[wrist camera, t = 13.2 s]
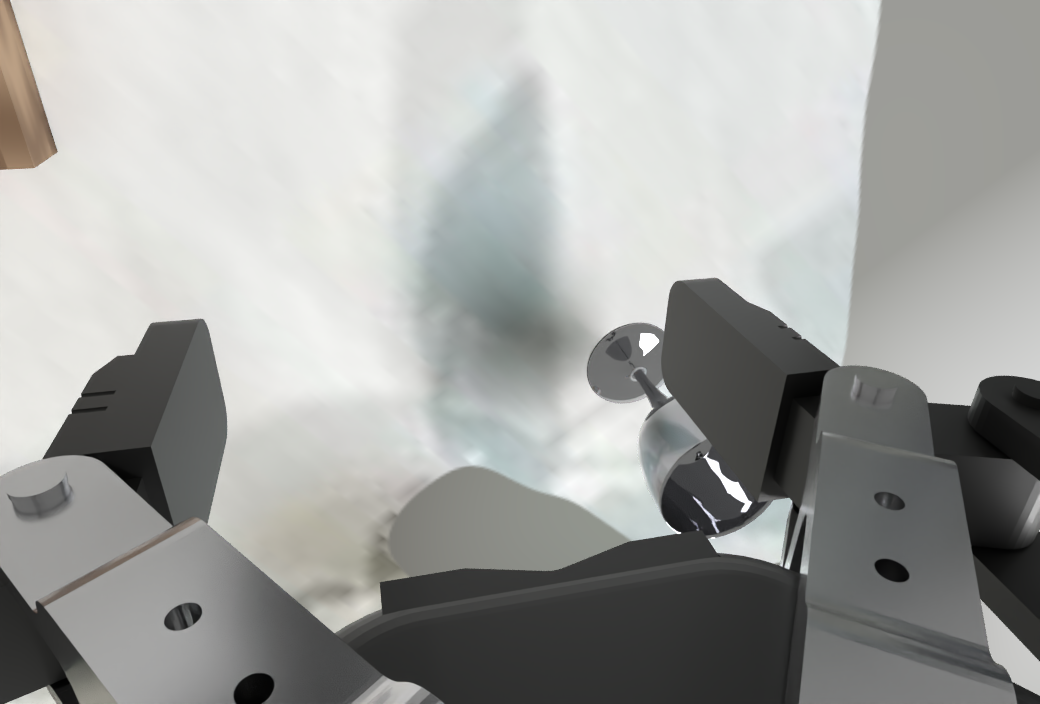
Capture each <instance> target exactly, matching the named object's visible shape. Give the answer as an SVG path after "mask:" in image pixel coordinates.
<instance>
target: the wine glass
mask: <svg viewBox="0 0 1040 704" xmlns="http://www.w3.org/2000/svg"><path fill="white" fill-rule="evenodd" d="M663 339H664V331H663V330H662V329H660V328H658V327H657V326H654V325H651V324H645V323H634V324H629V325H625V326H623V327H620V328H618V329H616V330H614V331H612V332H611V333H609V334H608V335H607V336H605V337H604V338H603V339H602V340H601V341H600V342H599V344H598V345H597V346H596V348H595V349H594V351H593V353H592V354H591V357H590V360H589V363H588V369H587V371H588V380H589V383H590V385H591V387H592V389H593V390H594V392H595V393H596V394H597V395H598V396H600V397H601V398H603V399H605V400H607V401H610V402H613V403H631V402H636V401H638V400H641V399H643V398H645V397H647V398H648V400H649V402H650V405H651V412H650V413H649V414H648V415H647V417H646V418H645V420H644V422H643V424H642V427H641V429H640V432H639V435H638V440H637V455H638V460H639V464H640V468H641V473H642V476H643V479H644V481H645V484H646V487H647V489H648V491H649V493H650V495H651V497H652V499H653V501H654V503H655V505H656V507H657V509H658V510H659V512H660V514H661V515H662V517H663V519H664V520H665V521H666V523H667V524H668V525H669V526H670V528H671V529H673V530H674V531H675V532H677V533H678V534H680V533H686V532H692V531H698V530H702V531H703V533H704V534H705V536H706V537H707V539H709V538H716V537H720V536H724V535H727V534H730V533H732V532H735V531H737V530H739V529H741V528H742V527H744V526H746V525H747V524H749V523H750V522H752V521H753V520H755V519H756V518H757V517H758V516H759V515H761V514H762V513H763V512H764V511H765V510H766V508H767V507H768V506H769V505H770V504H771V502H772V501H773V500H770V501H764V502H757V501H756V500H755V498H754V497H753V496H752V495H751V493H750V492H749V491H748V490H747V488H746V487H745V486H744V485H743V483H742V482H741V481H740V480H739V478H738V477H737V476H736V475H735V473H734V472H733V471H732V470H731V468H730V467H729V466H728V465H727V463H726V462H725V461H724V460H723V458H722V457H721V456H720V455H719V453H718V452H717V451H716V449H715V448H714V447H713V446H712V444H711V443H710V442H709V441H708V439H707V438H706V437H705V436H704V434H703V433H702V432H701V431H700V429H699V428H698V427H697V426H696V424H695V423H694V422H693V421H692V419H691V418H690V417H689V416H688V414H687V413H686V412H685V411H684V409H683V408H682V407H681V406H680V404H679V403H678V402H677V401H676V399H675V398H674V397H673V396H672V397H668V396H666V395H664V394H663V393H662V392H661V391H660V390H659V389H658V388H659V387H660V386H661V385H662V384H663V383H664V379H663V375H662V369H661V355H662V347H663Z"/></svg>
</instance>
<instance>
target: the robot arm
mask: <svg viewBox="0 0 1040 704" xmlns="http://www.w3.org/2000/svg"><path fill="white" fill-rule="evenodd" d="M661 369H662V375H663V379H664V382H665V385H666V387H667V389H668V390H669V392H670V393H671V394H672V396H673V397H674V398H675V399H676V401H677V402H678V403H679V404H680V406H681V407H682V408H683V409H684V411H685V412H686V413H687V414H688V416H689V417H690V418H691V419H692V421H693V422H694V423H695V424H696V426H697V427H698V428H699V429H700V431H701V432H702V433H703V434H704V436H705V437H706V438H707V439H708V441H709V442H710V443H711V444H712V446H713V447H714V448H715V449H716V451H717V452H718V453H719V455H720V456H721V457H722V458H723V460H724V461H725V462H726V463H727V465H728V466H729V467H730V468H731V470H732V471H733V472H734V473H735V475H736V476H737V477H738V478H739V480H740V481H741V482H742V483H743V485H744V486H745V487H746V488H747V490H748V491H749V492H750V493H751V495H752V496H753V497H754V498H755V500H756V501H757V502H764V501H770V500H777V499H783V498H790V499H791V500H792V503H791V507H790V511H789V515H788V519H787V525H786V531H785V537H784V544H783V550H782V556H781V563H780V566H779V565H776V564H772V563H769V562H766V561H763V560H759V559H754V558H750V557H745V556H739V555H732V554H724V553H716V551H715V549H714V548H713V546H712V545H711V543H710V542H709V540H708V539H707V537H706V536H705V534H704V533H703V531H702V530H698V531H692V532H686V533H680V534H673V535H667V536H661V537H655V538H649V539H643V540H637V541H631V542H627V543H624V544H622V545H619V546H617V547H614V548H612V549H610V550H607V551H604V552H602V553H600V554H597V555H595V556H593V557H590V558H587V559H585V560H582V561H580V562H577V563H575V564H572V565H570V566H567V567H565V568H562V569H559V570H554V571H525V570H494V569H459V570H452V571H446V572H440V573H434V574H428V575H422V576H416V577H409V578H403V579H397V580H391V581H385V582H380V590H381V603H382V609H381V610H378V611H376V612H374V613H371V614H369V615H367V616H365V617H363V618H361V619H359V620H357V621H355V622H353V623H351V624H349V625H347V626H345V627H344V628H342V629H341V630H339V631H338V632H336V633H335V634H334V633H333V632H332V631H331V630H330V629H328V628H327V627H326V626H325V625H324V624H323V623H322V622H320V621H319V620H318V619H317V618H316V617H315V616H313V615H312V614H311V613H310V612H309V611H308V610H306V609H305V608H304V607H303V606H302V605H301V604H299V603H298V602H297V601H296V600H295V599H294V598H292V597H291V596H290V595H289V594H288V593H287V592H285V591H284V590H283V589H282V588H281V587H280V586H279V585H277V584H276V583H275V582H274V581H273V580H272V579H270V578H269V577H268V576H267V575H266V574H265V573H263V572H262V571H261V570H260V569H259V568H258V567H256V566H255V565H254V564H253V563H252V562H251V561H249V560H248V559H247V558H246V557H245V556H244V555H243V554H241V553H240V552H239V551H238V550H237V549H236V548H234V547H233V546H232V545H231V544H230V543H229V542H227V541H226V540H225V539H224V538H223V537H222V536H220V535H219V534H218V533H217V532H216V531H215V530H213V529H212V528H211V527H210V526H209V525H208V524H207V523H208V519H209V514H210V510H211V505H212V501H213V497H214V492H215V488H216V483H217V479H218V475H219V470H220V466H221V461H222V457H223V453H224V448H225V444H226V439H227V415H226V407H225V402H224V397H223V392H222V388H221V383H220V379H219V374H218V370H217V365H216V361H215V356H214V352H213V347H212V343H211V338H210V334H209V330H208V327H207V325H206V323H205V321H204V320H203V319H193V320H181V321H168V322H156V323H151V324H150V326H149V328H148V329H147V331H146V333H145V335H144V337H143V339H142V341H141V343H140V345H139V347H138V349H137V351H136V353H135V355H125V356H117V357H116V358H114V359H113V360H112V361H110V362H109V363H108V364H106V365H105V366H103V367H102V368H101V369H99V370H98V371H97V372H95V373H94V374H93V375H92V376H91V378H90V380H89V381H88V383H87V385H86V387H85V388H84V390H83V392H82V393H81V396H82V397H81V398H78V400H77V402H76V403H75V405H74V407H73V408H72V414H69V415H68V417H67V418H66V420H65V422H64V424H63V425H62V427H61V429H60V430H59V432H58V434H57V435H56V437H55V439H54V440H53V442H52V444H51V445H50V447H49V449H48V450H47V452H46V454H45V455H44V457H43V459H42V460H39V461H35V462H32V463H29V464H26V465H24V466H21V467H18V468H16V469H14V470H12V471H10V472H7V473H6V474H4V475H2V476H0V704H5V703H7V702H10V701H12V700H14V699H17V698H19V697H22V696H24V695H26V694H29V693H31V692H34V691H36V690H38V689H41V688H43V687H47V689H48V691H49V693H50V694H51V696H52V697H53V699H54V700H55V702H56V703H57V704H1040V696H1039V695H1037V694H1035V693H1033V692H1031V691H1029V690H1027V689H1025V688H1023V687H1021V686H1019V685H1017V684H1015V683H1013V682H1012V681H1011V678H1010V675H1009V674H1008V672H1007V670H1006V669H1005V668H1004V667H1003V666H1002V665H999V664H997V663H995V662H994V661H993V659H992V657H991V654H990V651H989V646H988V641H987V636H986V629H985V623H984V618H983V612H982V606H981V601H980V599H981V600H982V601H983V602H984V603H985V604H986V605H987V606H988V607H989V608H990V609H991V611H993V613H994V614H995V615H996V616H998V618H999V619H1000V620H1001V621H1002V622H1003V623H1004V624H1005V625H1006V626H1007V627H1008V628H1009V629H1010V631H1011V632H1012V633H1014V635H1015V636H1016V637H1017V638H1018V639H1019V640H1020V641H1021V642H1022V643H1023V644H1024V645H1025V646H1026V647H1027V648H1028V649H1029V650H1030V651H1031V653H1032V654H1033V655H1034V656H1035V657H1036V658H1037V659H1038V660H1039V661H1040V532H1039V530H1040V381H1036V380H1033V379H1028V378H1023V377H1016V376H994V377H989V378H986V379H984V380H983V381H981V382H980V384H979V386H978V389H977V391H976V394H975V397H974V399H973V402H972V405H971V406H964V405H950V404H937V403H928V402H927V397H926V395H925V393H924V392H923V391H922V390H921V389H920V388H919V387H918V386H917V385H916V384H914V383H913V382H911V381H909V380H908V379H906V378H904V377H901V376H900V375H897V374H895V373H892V372H889V371H886V370H882V369H878V368H873V367H867V366H841V367H840V366H839V365H838V364H836V363H835V362H834V361H833V360H831V359H830V358H829V357H827V356H826V355H825V354H824V353H822V352H821V351H820V350H819V349H817V348H816V347H815V346H813V345H812V344H811V343H810V342H808V341H807V340H806V339H801V335H799V334H798V333H797V332H795V331H794V330H793V329H792V328H787V324H785V323H784V322H783V321H781V320H780V319H779V318H778V317H776V316H775V315H774V314H772V313H771V312H770V311H767V310H765V309H763V308H760V307H758V306H756V305H753V304H751V303H749V302H747V301H746V300H744V299H743V298H742V297H741V296H739V295H738V294H737V293H736V292H734V291H733V290H732V289H731V288H729V287H728V286H727V285H726V284H724V283H723V282H722V281H721V280H719V279H718V278H708V279H695V280H683V281H677V282H675V283H674V284H673V286H672V288H671V290H670V294H669V300H668V308H667V316H666V324H665V331H664V339H663V347H662V355H661Z"/></svg>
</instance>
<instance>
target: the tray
mask: <svg viewBox="0 0 1040 704" xmlns="http://www.w3.org/2000/svg"><path fill="white" fill-rule="evenodd" d="M55 153H57V149H56V146H55V142H54V139H53V136H52V133H51V130H50V127H49V123H48V120H47V117H46V114H45V111H44V108H43V104H42V101H41V98H40V95H39V92H38V88H37V85H36V82H35V79H34V76H33V73H32V69H31V66H30V63H29V60H28V57H27V54H26V50H25V47H24V44H23V41H22V38H21V34H20V31H19V28H18V25H17V22H16V19H15V15H14V12H13V9H12V6H11V3H10V0H0V170H4V169H24V168H35V167H36V166H38V165H39V164H41V163H42V162H44V161H45V160H47V159H48V158H50V157H51V156H52V155H54V154H55Z"/></svg>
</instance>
